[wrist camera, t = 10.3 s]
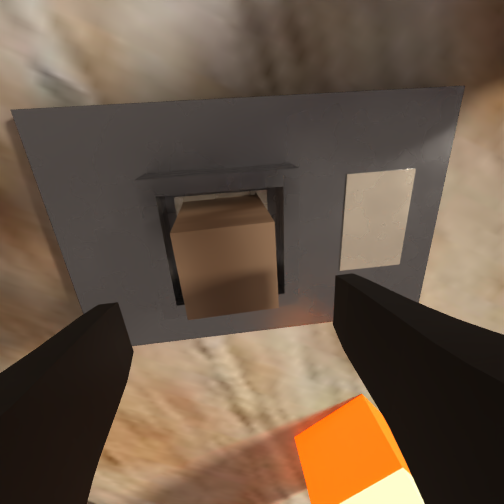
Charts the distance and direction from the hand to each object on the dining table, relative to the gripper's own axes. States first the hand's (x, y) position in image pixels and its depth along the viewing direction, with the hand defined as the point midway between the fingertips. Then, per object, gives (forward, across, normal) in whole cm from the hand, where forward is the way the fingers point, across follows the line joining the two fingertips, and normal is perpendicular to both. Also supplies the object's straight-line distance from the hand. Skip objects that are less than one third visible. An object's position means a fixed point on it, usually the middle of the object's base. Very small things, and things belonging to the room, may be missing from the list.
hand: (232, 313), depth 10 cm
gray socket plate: (+9, -2, 0) cm, 9 cm away
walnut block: (+7, 0, 0) cm, 7 cm away
